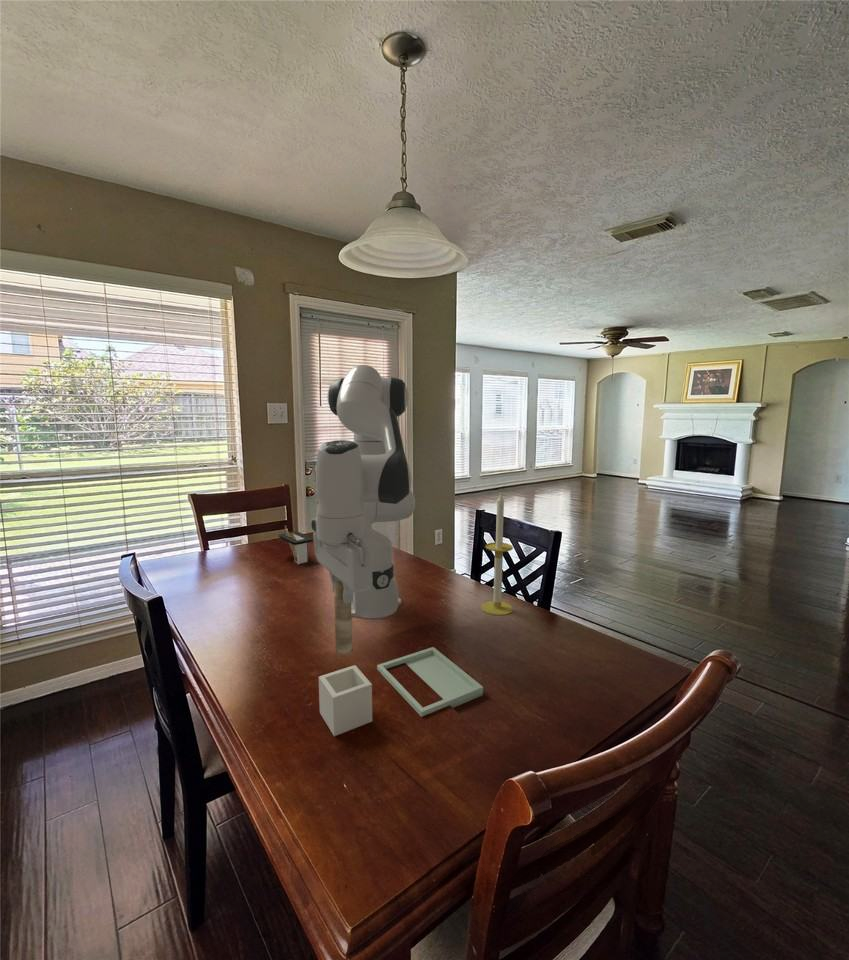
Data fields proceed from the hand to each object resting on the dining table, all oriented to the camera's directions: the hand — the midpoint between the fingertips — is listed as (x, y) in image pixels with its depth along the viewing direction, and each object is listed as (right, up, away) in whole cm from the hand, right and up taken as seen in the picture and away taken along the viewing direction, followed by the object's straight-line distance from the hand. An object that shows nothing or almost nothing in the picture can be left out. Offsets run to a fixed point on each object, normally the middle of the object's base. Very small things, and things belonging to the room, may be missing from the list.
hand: (342, 597), depth 89 cm
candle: (+39, -18, +56) cm, 71 cm away
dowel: (0, -11, +2) cm, 11 cm away
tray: (+17, -24, +17) cm, 34 cm away
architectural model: (-37, -11, +102) cm, 109 cm away
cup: (0, -26, +4) cm, 26 cm away
